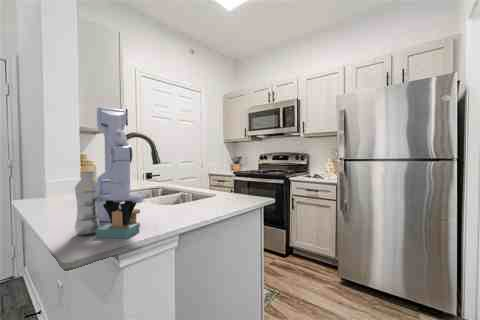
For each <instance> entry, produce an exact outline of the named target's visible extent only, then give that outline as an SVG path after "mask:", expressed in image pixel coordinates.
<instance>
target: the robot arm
mask: <svg viewBox="0 0 480 320" xmlns="http://www.w3.org/2000/svg"><path fill="white" fill-rule="evenodd" d="M127 115H128V114H127V111H126V110H125V109H120V108H119V109H118V108H111V107H104V106H103V107H102V106H98V107H97V108H96V126H97V130H100V131H101V132H102V134H103V139H104V172H103V173H101V174H100V175H98V177H97V179H96V183H97V184H98V186H99V193H98V201H97V211H98V218H99V222H110V223H111V224H112V212H113V211H116V210H118V208H121V209H122V215H123V225H127V224H129V220H130V217H131V214H132V211H133V209H135V207H136V205H137V204H141V203H143V202H144V199H143V198H144V196H143V195H134V194H131V163H132V162H133V148H132V145H130V143H129V142H128V138H127V135H126V133H125V132H124V129H125V127H126V125H127V124H126V123H127V117H128V116H127Z"/></svg>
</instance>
